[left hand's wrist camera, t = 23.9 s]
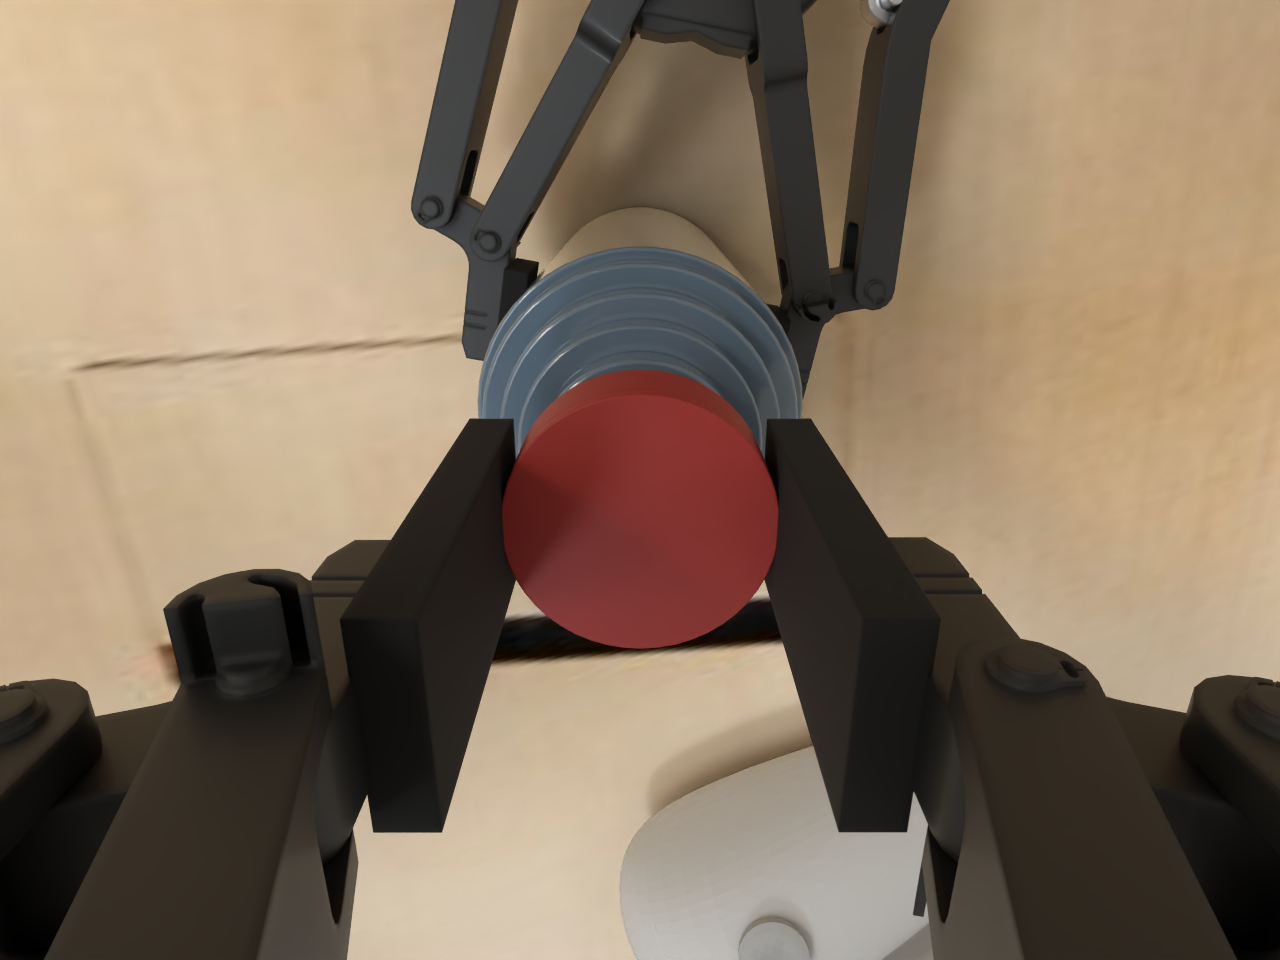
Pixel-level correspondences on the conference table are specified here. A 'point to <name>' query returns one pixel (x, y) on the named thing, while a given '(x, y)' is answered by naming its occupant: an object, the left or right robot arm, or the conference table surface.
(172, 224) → the conference table surface
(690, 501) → the cap
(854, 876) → the projector
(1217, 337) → the conference table surface
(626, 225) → the bottle
